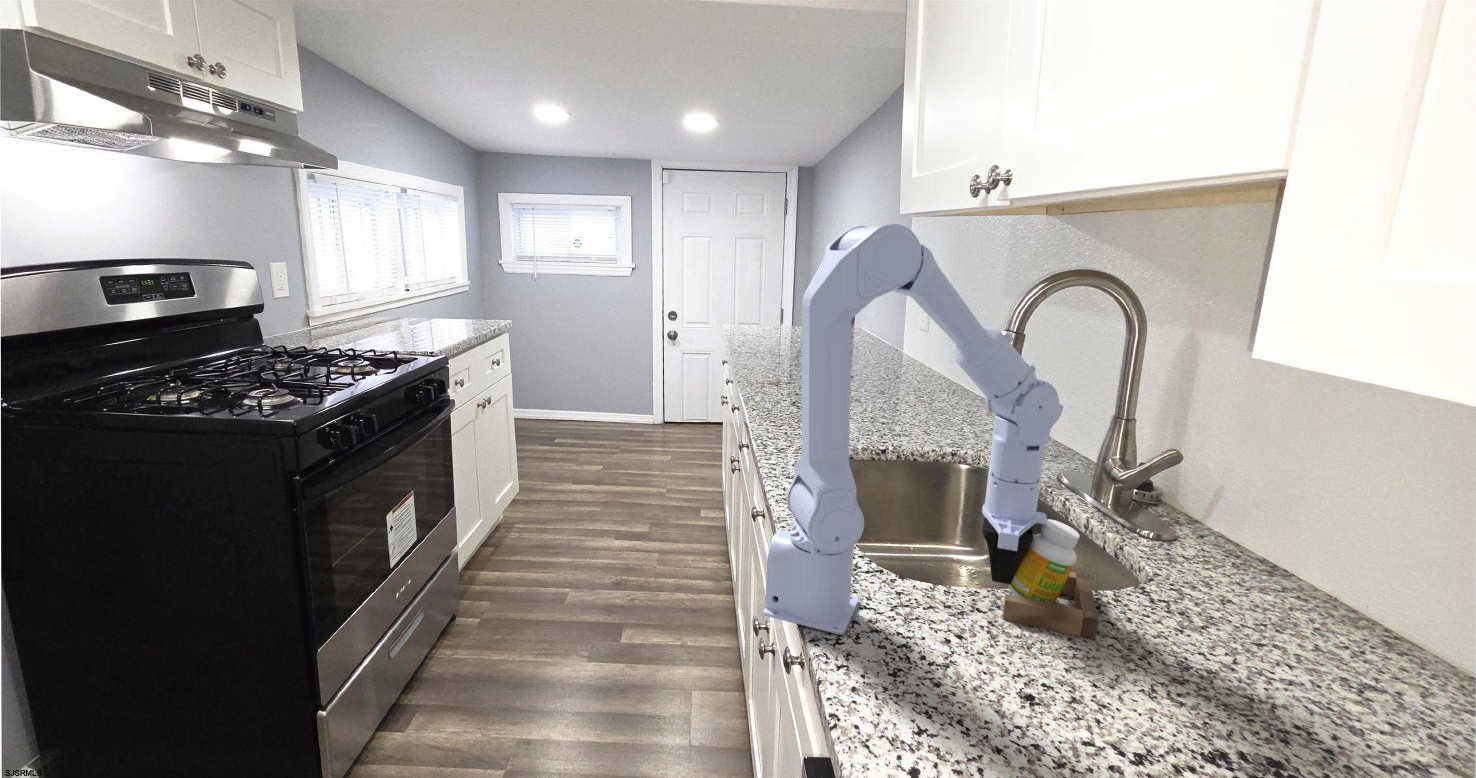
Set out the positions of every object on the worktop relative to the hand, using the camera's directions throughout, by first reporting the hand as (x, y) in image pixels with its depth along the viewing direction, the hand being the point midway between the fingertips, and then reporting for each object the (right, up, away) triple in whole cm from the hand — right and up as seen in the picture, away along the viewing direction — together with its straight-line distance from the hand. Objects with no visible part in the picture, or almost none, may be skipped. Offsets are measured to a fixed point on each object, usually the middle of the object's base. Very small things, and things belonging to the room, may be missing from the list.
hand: (1001, 580), depth 80 cm
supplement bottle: (+3, -2, -1) cm, 4 cm away
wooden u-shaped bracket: (+4, -3, -1) cm, 5 cm away
